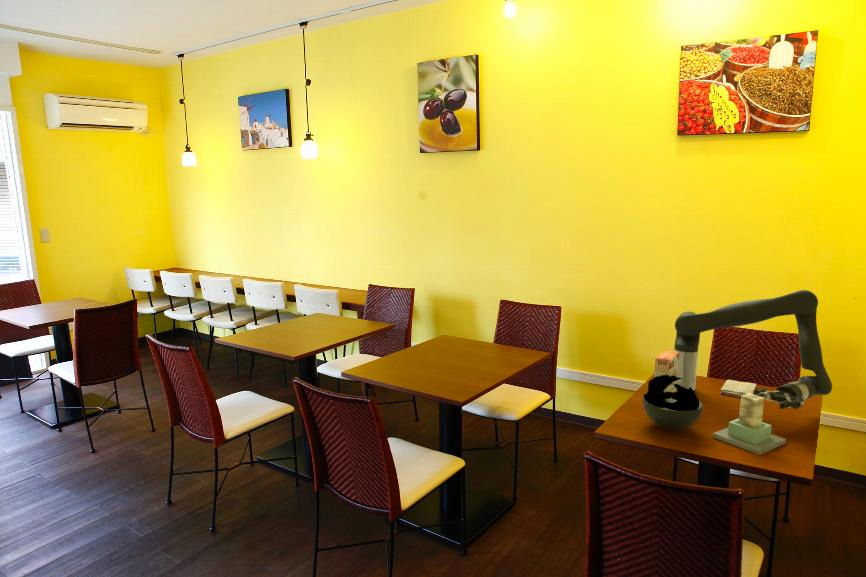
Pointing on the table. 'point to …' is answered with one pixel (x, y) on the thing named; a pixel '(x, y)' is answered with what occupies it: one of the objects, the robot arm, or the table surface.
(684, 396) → the coal bowl
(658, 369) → the cracker box
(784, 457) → the table surface
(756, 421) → the square peg
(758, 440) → the socket holder
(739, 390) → the washcloth
